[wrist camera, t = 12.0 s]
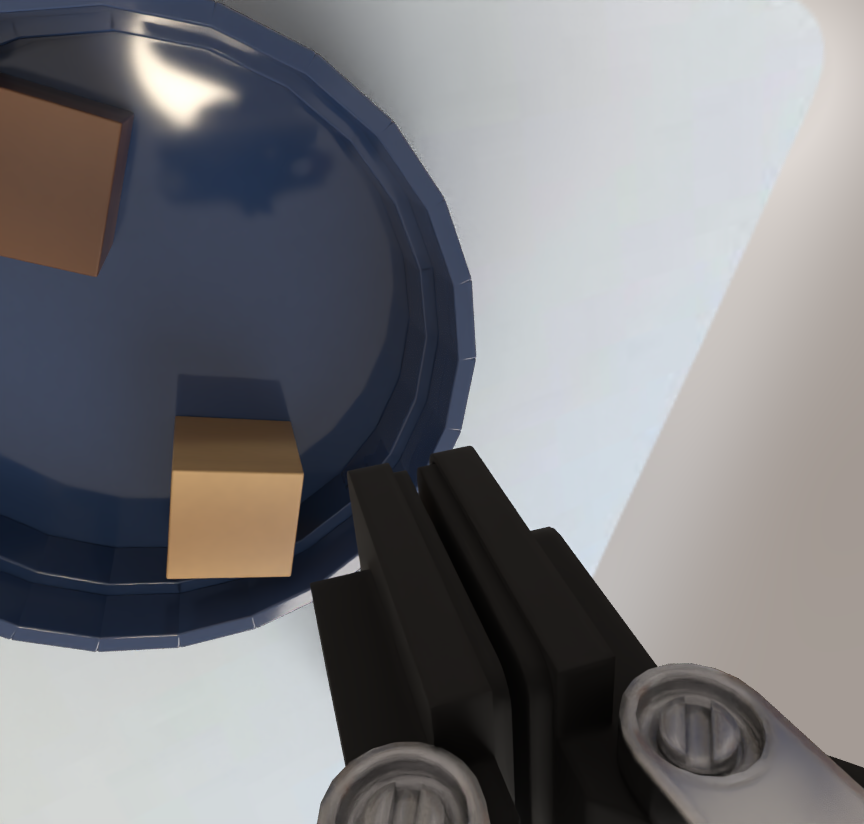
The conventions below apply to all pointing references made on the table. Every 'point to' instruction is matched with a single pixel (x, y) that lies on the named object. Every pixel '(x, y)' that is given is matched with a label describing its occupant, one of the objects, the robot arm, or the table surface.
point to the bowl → (215, 318)
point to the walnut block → (59, 175)
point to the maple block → (233, 498)
